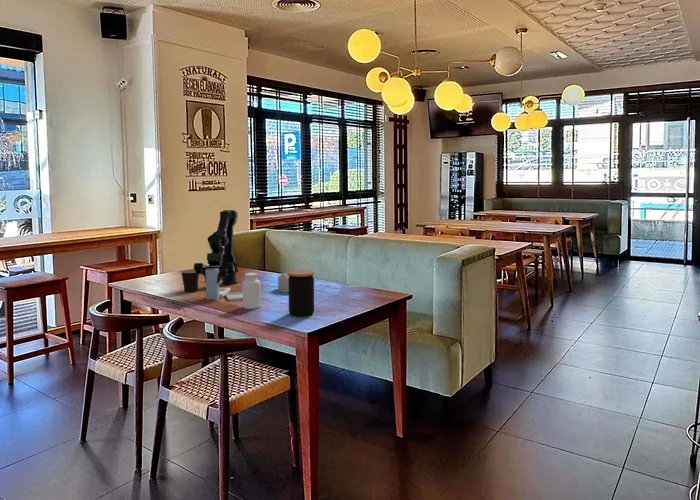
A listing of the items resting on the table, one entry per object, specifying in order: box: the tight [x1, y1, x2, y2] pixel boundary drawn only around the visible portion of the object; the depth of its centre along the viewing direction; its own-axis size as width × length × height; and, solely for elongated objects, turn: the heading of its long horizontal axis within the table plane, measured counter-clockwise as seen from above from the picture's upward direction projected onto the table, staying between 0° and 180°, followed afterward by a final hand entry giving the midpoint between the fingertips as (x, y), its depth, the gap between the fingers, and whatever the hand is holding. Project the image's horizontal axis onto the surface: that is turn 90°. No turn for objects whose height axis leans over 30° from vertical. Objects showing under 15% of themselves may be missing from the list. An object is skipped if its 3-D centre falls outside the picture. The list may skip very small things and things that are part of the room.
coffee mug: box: [181, 269, 200, 293], centre depth 280 cm, size 12×9×10 cm
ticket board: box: [205, 287, 231, 298], centre depth 274 cm, size 16×8×1 cm, turn 0°
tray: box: [224, 291, 243, 302], centre depth 265 cm, size 12×12×1 cm
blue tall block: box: [205, 268, 221, 300], centre depth 262 cm, size 5×5×14 cm
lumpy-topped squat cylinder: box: [277, 271, 290, 294], centre depth 282 cm, size 10×13×9 cm
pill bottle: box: [241, 272, 262, 310], centre depth 245 cm, size 8×8×15 cm
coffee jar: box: [287, 269, 315, 318], centre depth 234 cm, size 11×11×18 cm
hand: (211, 283), depth 261 cm, fingers closed on blue tall block, 5 cm apart
